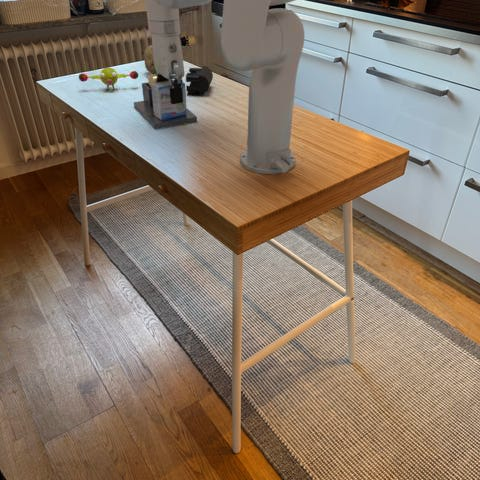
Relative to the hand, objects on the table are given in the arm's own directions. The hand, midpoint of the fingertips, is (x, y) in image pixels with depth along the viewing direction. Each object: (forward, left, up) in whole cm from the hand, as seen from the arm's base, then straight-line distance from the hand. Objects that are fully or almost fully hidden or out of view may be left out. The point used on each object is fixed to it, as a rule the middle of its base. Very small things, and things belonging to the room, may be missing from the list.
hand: (170, 97), depth 118 cm
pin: (+11, 0, -2) cm, 12 cm away
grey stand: (+5, 0, -6) cm, 8 cm away
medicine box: (+1, 0, -5) cm, 5 cm away
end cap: (+19, -17, -7) cm, 27 cm away
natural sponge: (+41, -11, -7) cm, 43 cm away
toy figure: (+32, +8, -7) cm, 34 cm away
